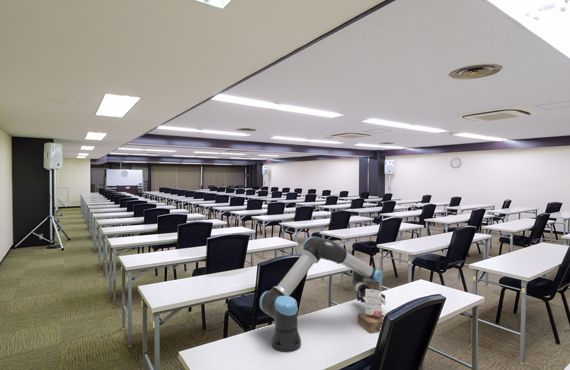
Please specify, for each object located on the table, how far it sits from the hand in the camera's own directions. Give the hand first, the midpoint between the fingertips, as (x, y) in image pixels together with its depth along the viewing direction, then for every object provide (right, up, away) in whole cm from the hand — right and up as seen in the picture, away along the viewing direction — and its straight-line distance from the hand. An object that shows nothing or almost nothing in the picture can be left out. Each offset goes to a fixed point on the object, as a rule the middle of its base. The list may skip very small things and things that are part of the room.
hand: (376, 303), depth 181 cm
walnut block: (0, -16, +5) cm, 16 cm away
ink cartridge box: (0, -8, +5) cm, 9 cm away
